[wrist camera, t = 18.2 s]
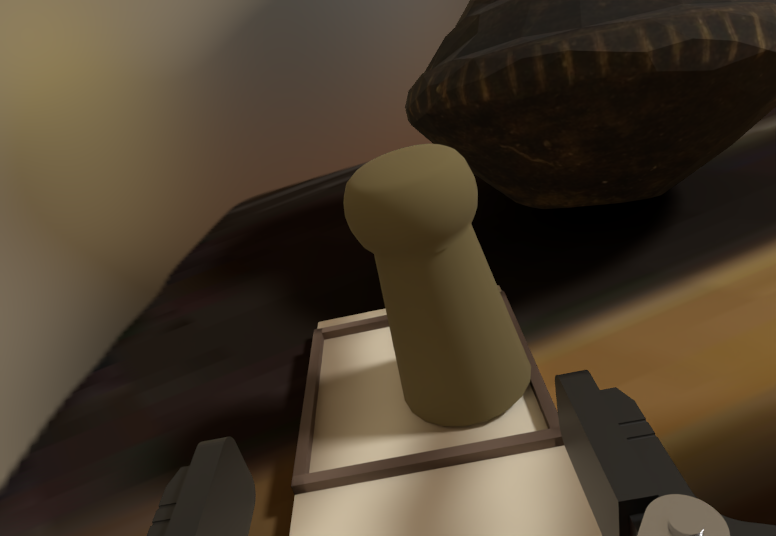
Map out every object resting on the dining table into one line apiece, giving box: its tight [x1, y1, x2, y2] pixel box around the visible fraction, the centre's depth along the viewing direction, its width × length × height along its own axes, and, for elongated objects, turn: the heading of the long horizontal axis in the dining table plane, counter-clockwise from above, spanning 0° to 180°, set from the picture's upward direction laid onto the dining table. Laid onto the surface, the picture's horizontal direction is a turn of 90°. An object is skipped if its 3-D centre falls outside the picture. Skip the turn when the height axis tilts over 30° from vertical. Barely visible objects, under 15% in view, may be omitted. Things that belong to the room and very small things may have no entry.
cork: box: [343, 144, 531, 426], centre depth 23 cm, size 6×6×11 cm
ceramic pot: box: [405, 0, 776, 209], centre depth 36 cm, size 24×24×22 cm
